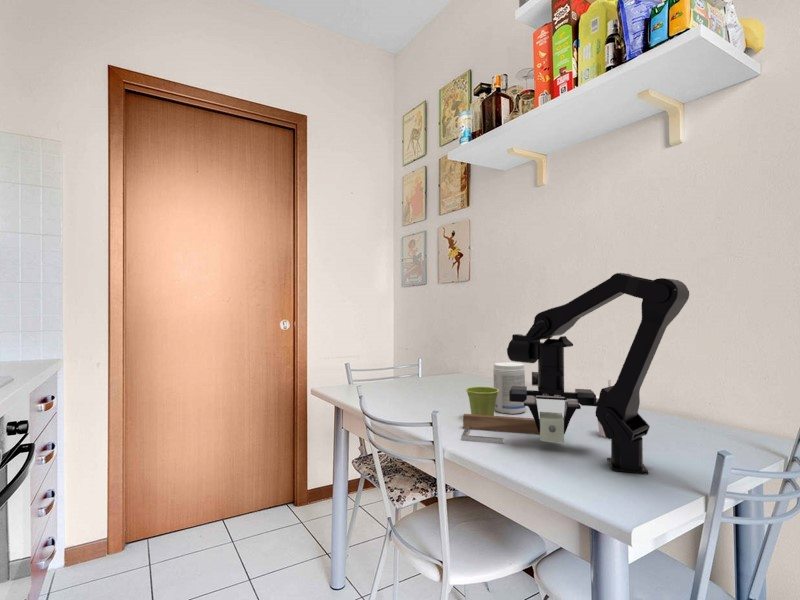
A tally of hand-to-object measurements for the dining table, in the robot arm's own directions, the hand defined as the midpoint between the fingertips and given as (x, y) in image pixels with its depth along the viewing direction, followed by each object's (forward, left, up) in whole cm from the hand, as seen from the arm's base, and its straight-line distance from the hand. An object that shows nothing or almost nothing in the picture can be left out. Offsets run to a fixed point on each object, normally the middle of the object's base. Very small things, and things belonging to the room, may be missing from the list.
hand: (551, 432), depth 102 cm
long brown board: (+11, +10, -3) cm, 15 cm away
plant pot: (+21, +18, -4) cm, 28 cm away
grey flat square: (+5, +16, -3) cm, 17 cm away
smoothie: (+14, -14, -4) cm, 20 cm away
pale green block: (0, 0, -1) cm, 1 cm away
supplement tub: (+34, +11, -4) cm, 36 cm away
